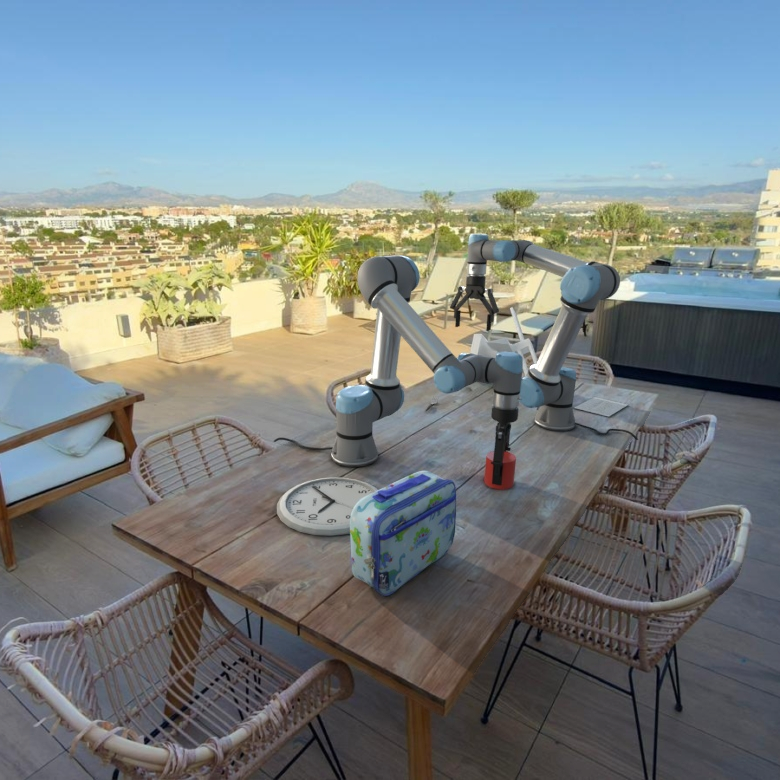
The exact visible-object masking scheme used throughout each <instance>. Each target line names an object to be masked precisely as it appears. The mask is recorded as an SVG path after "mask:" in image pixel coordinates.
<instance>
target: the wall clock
mask: <svg viewBox="0 0 780 780" xmlns="http://www.w3.org/2000/svg"><path fill="white" fill-rule="evenodd" d="M378 490H380V489H379V488H377V487H376V486H374V485H372V484H371V483H369V482H365V481H362V480H359V479H355V478H349V477H338V476H337V477H335V476H333V477H332V476H331V477H322V478H317V479H312V480H307V481H305V482H302V483H299V484H297V485H295V486H293V487H292V488H290V489H288V490H287V491H286V492H285V493H284V494H283V495H281V496H280V498H279V499H278V502H277V503H276V515H277V517H278V518H279V520H280V521H281V522H282V523H283V524H285V525H286V526H287V527H288V528H290V529H293V530H295V531H297V532H299V533H303V534H308V535H312V536H327V537H328V536H329V537H331V536H332V537H333V536H342V535H350V517H351V513H352V510H353V508H354V506H355V505H356V503H357V502H358V501H359V500H360V499H362V498H364V497H365V496H367V495H370V494H372V493H374V492H376V491H378Z"/></svg>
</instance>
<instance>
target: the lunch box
mask: <svg viewBox="0 0 780 780" xmlns="http://www.w3.org/2000/svg"><path fill="white" fill-rule="evenodd" d="M456 519H457V488H456V484H455V482H454V480H452V479H449V478H448V479H447V478H446V479H445V478H442V477H440V476H439V475H437V474H434V473H432V471H428V470H419V471H417V472H414V473H412V474H410V475H407V476H405V477H403V478H400V479H399V480H396V481H394V482H392V483H390V484H388V485H386V486H384V487H382V488H380V489H379V490H378V491H376V492H374V493H372V494H370V495H367V496H365V497H364V498H362V499H360V500H359V501H358V502H357V503H356V505H355V506H354V508H353V510H352V513H351V517H350V533H349V540H350V566H351V573H352V575H353V577H354V578H355V579H357V580H359V581H362V582H363V583H365V584H367V585H368V586H370V587H371V588H373V589H374V590H375V592H376V593H378V594H379V595H381V596H386V597H387V596H390V595H392V594H394V593H395V592H396V591H398V590H399V589H400V588H401V587H402V586H404V585H405V584H407V583H408V582H409V581H411V580H412V579H413V578H415V577H416V576H418V575H419V574H420V573H421V572H423V571H424V570H425V569H426V568H428V566H430V565H432V564H434V563H435V562H437V561H438V560H440V559H441V558H442V557H444V556H445V555H446V554H447V553H448V552H449V550H450V548H451V547H452V545H453V542H454V539H455V535H456V524H457V523H456V522H457V520H456Z"/></svg>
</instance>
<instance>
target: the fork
mask: <svg viewBox="0 0 780 780" xmlns="http://www.w3.org/2000/svg"><path fill="white" fill-rule="evenodd" d="M438 401H439V398H438V397H435V396H433V398H432V399H431V401H430V404H429V405H428V406H427V408H426V409H425V412H427V411H428V410H429V409H431V408H432V406H433V405H437V404H438Z"/></svg>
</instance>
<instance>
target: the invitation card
mask: <svg viewBox="0 0 780 780" xmlns="http://www.w3.org/2000/svg"><path fill="white" fill-rule="evenodd" d="M628 406H629V404H627V403H623V402H618V401H614V400H609V399H605V398H601V397H596V396H593V397H592V398H590V399H588V400H586V401H584V402H582V403H580V404H578V405H575V406H574V407H573V409H575V410H581V411H584V412H587V413H593V414H596V415H600V416H604V417H608V418H609V417H611V416H613V415H614V414H616V413H617V412H619V411H621V410H623V409H624V408H626V407H628Z"/></svg>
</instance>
